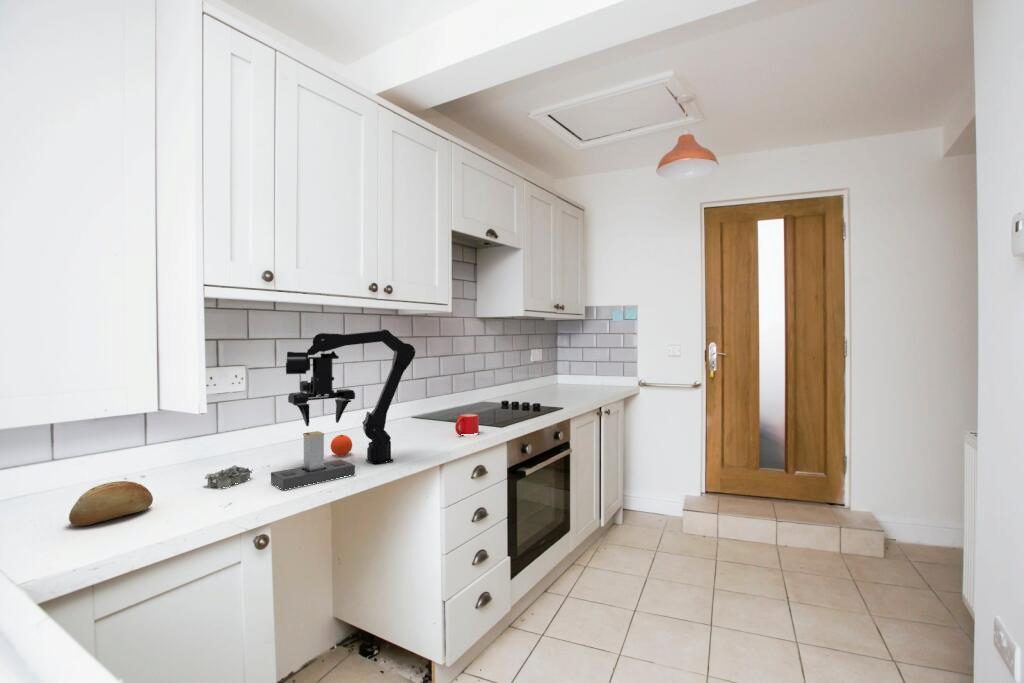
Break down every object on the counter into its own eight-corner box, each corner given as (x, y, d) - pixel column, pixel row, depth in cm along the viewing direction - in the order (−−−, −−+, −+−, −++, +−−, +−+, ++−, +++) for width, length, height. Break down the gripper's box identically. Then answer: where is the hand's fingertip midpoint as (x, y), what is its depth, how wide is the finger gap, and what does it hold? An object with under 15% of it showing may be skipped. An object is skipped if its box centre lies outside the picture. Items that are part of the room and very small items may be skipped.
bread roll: (161, 512, 114) (161, 478, 114) (77, 534, 102) (77, 495, 102) (144, 504, 120) (144, 471, 120) (63, 524, 107) (62, 487, 107)
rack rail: (340, 469, 150) (340, 459, 150) (354, 475, 144) (354, 464, 144) (270, 483, 136) (270, 472, 136) (283, 490, 130) (283, 479, 130)
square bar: (318, 476, 143) (317, 431, 143) (324, 479, 140) (324, 433, 140) (303, 479, 140) (303, 433, 140) (309, 482, 137) (309, 435, 137)
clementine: (328, 453, 170) (328, 433, 169) (350, 451, 173) (349, 431, 173) (332, 459, 162) (331, 437, 162) (354, 456, 166) (353, 435, 165)
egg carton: (222, 491, 131) (222, 475, 130) (201, 488, 133) (201, 472, 133) (255, 479, 141) (255, 465, 141) (235, 476, 143) (235, 462, 143)
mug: (448, 436, 198) (448, 417, 197) (466, 431, 208) (466, 412, 208) (464, 439, 193) (464, 418, 193) (482, 433, 204) (482, 414, 203)
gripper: (341, 370, 165) (341, 417, 165) (282, 373, 152) (282, 424, 153) (355, 372, 157) (355, 422, 157) (294, 375, 144) (294, 429, 144)
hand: (322, 424), depth 153 cm, fingers open, 9 cm apart
